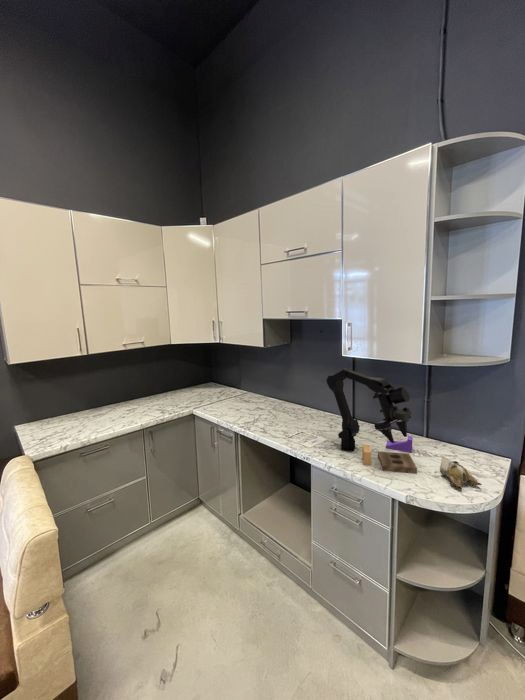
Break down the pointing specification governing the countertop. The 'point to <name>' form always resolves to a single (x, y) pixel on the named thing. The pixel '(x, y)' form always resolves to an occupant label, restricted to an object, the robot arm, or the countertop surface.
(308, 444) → the photo frame
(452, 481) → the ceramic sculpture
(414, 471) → the brown slotted square board
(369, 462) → the tan wooden block
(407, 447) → the bracket
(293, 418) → the countertop surface
